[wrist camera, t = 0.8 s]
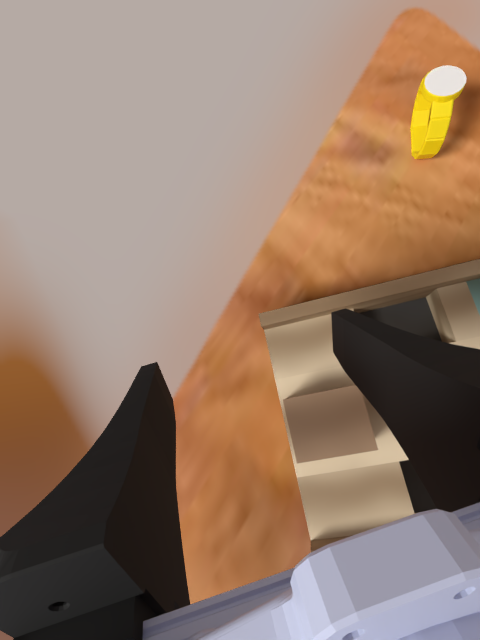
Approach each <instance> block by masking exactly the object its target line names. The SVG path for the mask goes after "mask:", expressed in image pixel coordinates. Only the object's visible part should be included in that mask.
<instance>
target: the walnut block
mask: <svg viewBox="0 0 480 640" xmlns="http://www.w3.org/2000/svg"><path fill="white" fill-rule="evenodd" d="M283 403H284V408H285V412H286V417H287V421H288V426H289V430H290V435H291V439H292V443H293V448H294V452H295V457H296V461H297V464H298V463H304V462H310V461H316V460H322V459H328V458H334V457H340V456H346V455H352V454H358V453H364V452H370V451H376V450H378V447H377V444H376V440H375V437H374V433H373V430H372V426H371V423H370V419H369V416H368V412H367V409H366V405H365V402H364V398H363V395H362V392H361V391H360V390H359V389H358V387H357V386H356V385H350V386H345V387H340V388H335V389H330V390H325V391H320V392H315V393H310V394H305V395H300V396H295V397H290V398H286V399H283Z"/></svg>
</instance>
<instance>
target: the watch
mask: <svg viewBox="0 0 480 640" xmlns="http://www.w3.org/2000/svg"><path fill="white" fill-rule="evenodd" d="M465 84H466V75H465V73H464V72H463V71H462V70H461V69H459V68H458V67H455V66H441V67H437V68H435V69H433V70H432V71H430V72H428V73H427V75H426V76H425V77H424V78H423V80H422V82H421V84H420V87H419V90H418V94H417V96H416V100H415V104H414V108H413V113H412V120H411V127H410V128H411V129H410V130H411V149H412V156H413V157H414V158H415V159H424V158H432V157H433V156H435V155H436V154H437V153H438V152H439V150H440V148H441V146H442V144H443V142H444V140H445V137H446V134H447V131H448V127H449V124H450V120H451V118H450V117H451V116H452V110H453V103H454V100H455V99H456V98H457V97H458V96H459V95H460V94H461V92H462V90H463V88H464V86H465ZM430 111H431V113H430ZM429 117H430V120H429ZM428 123H429V124H428Z"/></svg>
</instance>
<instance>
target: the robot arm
mask: <svg viewBox="0 0 480 640" xmlns="http://www.w3.org/2000/svg"><path fill="white" fill-rule="evenodd" d="M331 320H332V341H333V353H334V355H335V356H336V358H337V360H338V361H339V363H340V365H341V366H342V368H343V370H344V371H345V372H346V374H347V375H348V376H349V378H350V379H351V380H352V381H353V383H354V384H355V385H356V386H357V387H358V389H359V390H360V391H361V392H362V394H363V395H364V396H365V397H366V398H367V400H368V401H369V402H370V403H371V405H372V406H373V407H374V408H375V409H376V411H377V412H378V413H379V415H380V416H381V417H382V419H383V420H384V421H385V423H386V424H387V426H388V427H389V429H390V431H391V432H392V434H393V435H394V437H395V438H396V440H397V441H398V443H399V444H400V446H401V448H402V449H403V451H404V453H405V454H406V456H407V457H408V459H409V461H410V462H411V464H412V465H413V467H414V469H415V471H416V472H417V474H418V476H419V478H420V479H421V481H422V483H423V484H424V486H425V488H426V490H427V491H428V493H429V495H430V497H431V499H432V500H433V502H434V504H435V506H436V508H437V509H433V510H428V511H423V512H419V513H416V514H413V515H410V516H407V517H404V518H402V519H399V520H396V521H393V522H390V523H387V524H384V525H382V526H379V527H376V528H373V529H370V530H367V531H365V532H362V533H359V534H356V535H353V536H350V537H347V538H345V539H342V540H339V541H336V542H333V543H330V544H327V545H325V546H323V547H321V548H319V549H317V550H315V551H313V552H311V553H309V554H308V555H307V556H306V557H304V558H303V559H302V560H301V561H300V562H299V563H298V564H297V565H296V566H295V568H292V569H290V570H287V571H284V572H281V573H278V574H275V575H273V576H270V577H267V578H264V579H261V580H258V581H256V582H253V583H250V584H247V585H244V586H242V587H239V588H236V589H233V590H230V591H227V592H225V593H222V594H219V595H216V596H213V597H210V598H208V599H205V600H202V601H199V602H196V603H194V604H191V605H190V600H189V593H188V586H187V579H186V572H185V564H184V556H183V548H182V540H181V531H180V522H179V513H178V503H177V493H176V420H175V412H174V405H173V399H172V397H171V394H170V392H169V389H168V387H167V385H166V382H165V380H164V378H163V375H162V373H161V370H160V369H159V366H158V363H157V362H156V363H152V364H149V365H145V366H142V367H141V368H140V370H139V372H138V374H137V376H136V377H135V379H134V381H133V383H132V385H131V387H130V389H129V391H128V393H127V395H126V396H125V398H124V400H123V401H122V403H121V405H120V407H119V409H118V410H117V412H116V413H115V415H114V416H113V418H112V419H111V421H110V423H109V424H108V426H107V427H106V429H105V430H104V431H103V433H102V434H101V436H100V437H99V438H98V440H97V441H96V442H95V443H94V445H93V446H92V448H91V449H90V450H89V451H88V452H87V454H86V455H85V456H84V457H83V458H82V459H81V461H80V462H79V463H78V464H77V465H76V466H75V467H74V468H73V469H72V471H71V472H70V473H69V474H68V475H67V476H66V477H65V478H64V479H63V480H62V481H61V482H60V483H59V484H58V486H56V488H55V489H54V490H53V491H52V492H51V493H49V494H48V495H47V496H46V497H45V499H43V500H42V501H41V502H40V503H39V504H38V505H37V506H36V507H35V508H34V509H33V510H32V511H30V512H29V513H28V514H27V515H26V516H25V517H23V518H22V519H21V520H20V521H19V522H18V523H17V524H16V525H14V526H13V527H12V528H11V529H10V530H8V532H6V533H5V534H4V535H3V536H1V537H0V630H1V631H3V632H4V633H6V634H8V635H10V636H12V637H13V638H14V639H13V640H480V349H476V348H470V347H465V346H459V345H455V344H450V343H446V342H442V341H438V340H434V339H430V338H426V337H423V336H419V335H416V334H413V333H410V332H407V331H404V330H401V329H398V328H395V327H393V326H390V325H387V324H385V323H382V322H380V321H377V320H374V319H372V318H369V317H367V316H364V315H362V314H359V313H357V312H354V311H352V310H349V309H346V308H345V309H341V310H338V311H334V312H331Z"/></svg>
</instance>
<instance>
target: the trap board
mask: <svg viewBox="0 0 480 640" xmlns="http://www.w3.org/2000/svg"><path fill="white" fill-rule="evenodd" d="M345 308H346V309H349V310H352V311H354V312H357V313H359V314H362V315H364V316H367V317H369V318H372V319H374V320H377V321H380V322H382V323H385V324H387V325H390V326H393V327H395V328H398V329H401V330H404V331H407V332H410V333H413V334H416V335H419V336H423V337H426V338H430V339H434V340H438V341H442V342H446V343H450V344H455V345H459V346H465V347H470V348H476V349H480V259H477V260H473V261H469V262H465V263H461V264H457V265H453V266H449V267H445V268H441V269H437V270H433V271H429V272H425V273H421V274H417V275H413V276H409V277H405V278H401V279H397V280H393V281H389V282H385V283H381V284H377V285H373V286H369V287H364V288H360V289H356V290H352V291H348V292H344V293H340V294H336V295H332V296H328V297H324V298H320V299H316V300H312V301H308V302H304V303H300V304H296V305H292V306H288V307H284V308H280V309H276V310H272V311H268V312H264V313H260V314H259V318H260V322H261V327H262V328H263V329H264V331H265V336H266V340H267V345H268V349H269V354H270V358H271V363H272V367H273V372H274V376H275V381H276V385H277V390H278V394H279V399H280V403H281V408H282V412H283V417H284V422H285V426H286V431H287V435H288V440H289V444H290V449H291V453H292V458H293V462H294V467H295V471H296V476H297V480H298V485H299V489H300V494H301V498H302V503H303V507H304V512H305V516H306V521H307V525H308V530H309V534H310V539H311V552H313V551H315V550H317V549H319V548H321V547H323V546H325V545H327V544H330V543H333V542H336V541H339V540H342V539H345V538H347V537H350V536H353V535H356V534H359V533H362V532H365V531H367V530H370V529H373V528H376V527H379V526H382V525H384V524H387V523H390V522H393V521H396V520H399V519H402V518H404V517H407V516H410V515H413V514H416V513H419V512H423V511H428V510H433V509H437V508H436V506H435V504H434V502H433V500H432V499H431V497H430V495H429V493H428V491H427V490H426V488H425V486H424V484H423V483H422V481H421V479H420V478H419V476H418V474H417V472H416V471H415V469H414V467H413V465H412V464H411V462H410V461H409V459H408V457H407V456H406V454H405V453H404V451H403V449H402V448H401V446H400V444H399V443H398V441H397V440H396V438H395V437H394V435H393V434H392V432H391V431H390V429H389V427H388V426H387V424H386V423H385V421H384V420H383V419H382V417H381V416H380V415H379V413H378V412H377V411H376V409H375V408H374V407H373V406H372V405H371V403H370V402H369V401H368V400H367V398H366V397H365V396H364V395H363V394H362V395H363V398H364V402H365V405H366V409H367V412H368V416H369V419H370V423H371V426H372V430H373V433H374V437H375V440H376V444H377V447H378V450H376V451H370V452H364V453H358V454H352V455H346V456H340V457H334V458H328V459H322V460H316V461H310V462H304V463H298V464H297V461H296V457H295V452H294V448H293V443H292V439H291V435H290V430H289V426H288V421H287V417H286V412H285V408H284V403H283V399H286V398H290V397H295V396H300V395H305V394H310V393H315V392H320V391H325V390H330V389H335V388H340V387H345V386H350V385H355V384H354V383H353V381H352V380H351V379H350V378H349V376H348V375H347V374H346V372H345V371H344V370H343V368H342V366H341V365H340V363H339V361H338V360H337V358H336V356H335V355H334V353H333V341H332V320H331V312H334V311H338V310H341V309H345Z"/></svg>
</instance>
